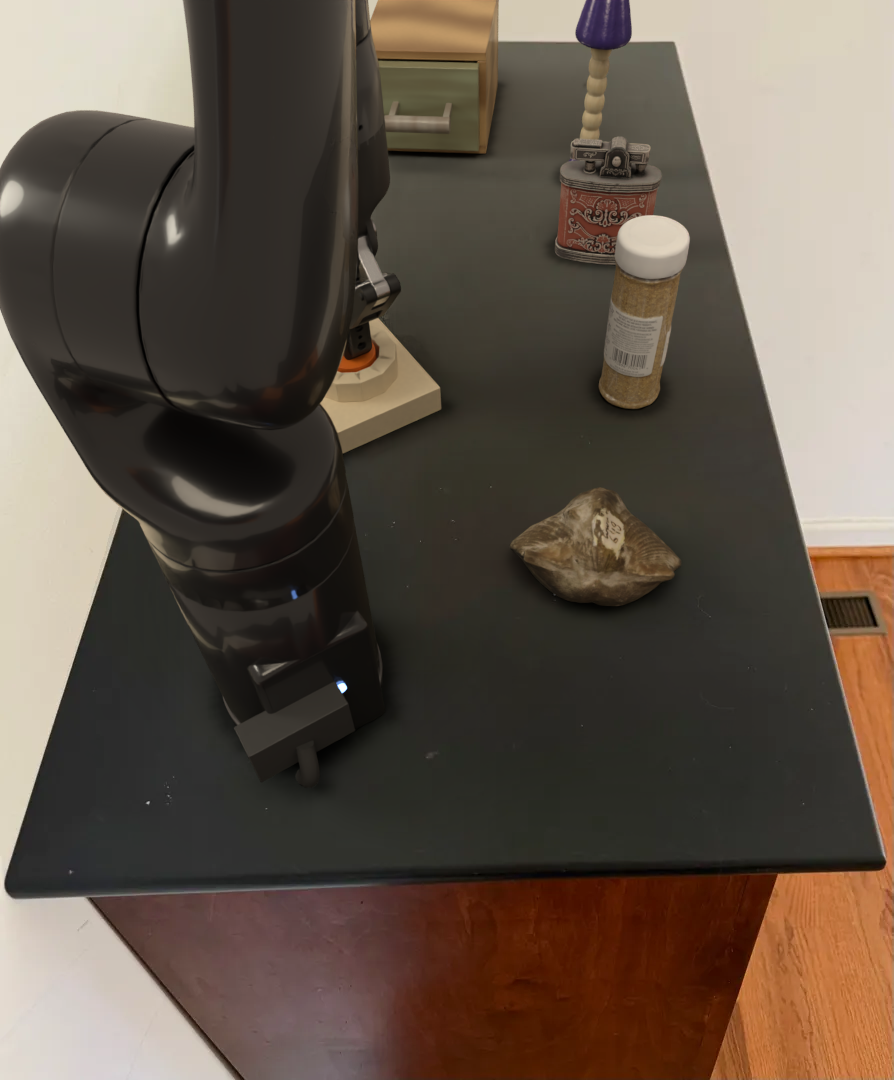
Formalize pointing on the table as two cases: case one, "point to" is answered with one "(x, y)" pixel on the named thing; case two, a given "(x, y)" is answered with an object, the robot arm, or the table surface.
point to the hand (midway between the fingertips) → (354, 350)
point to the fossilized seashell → (596, 552)
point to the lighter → (602, 196)
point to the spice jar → (642, 308)
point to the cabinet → (443, 42)
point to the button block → (380, 393)
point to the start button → (358, 362)
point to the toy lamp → (600, 53)
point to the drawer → (431, 104)
